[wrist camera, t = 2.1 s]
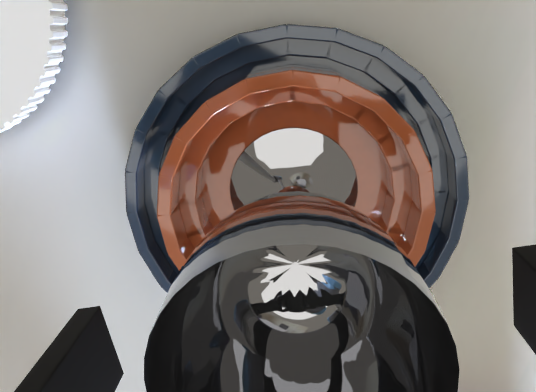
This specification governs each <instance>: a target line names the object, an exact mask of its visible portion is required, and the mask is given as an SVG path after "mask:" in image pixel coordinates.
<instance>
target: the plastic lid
mask: <svg viewBox="0 0 536 392" xmlns="http://www.w3.org/2000/svg"><path fill="white" fill-rule="evenodd" d="M67 10H68V8H67V4H65V3H64V0H0V133H1V132H3V131H5V130H8V129H10V128H12V126H14V125H16V124H19V123H20V122H21V119H24V118H27V117H28V116H29V115H30V114H29V112H32V111H35V110H36V109H37V108H38V107H37V105H36V104H38V103H42V102H43V101H44V97H43V95H45V94H48V93H49V92H50V90H51V89H50V88H49V86H50V84H54V83H55V81H56V79H55V77H54V76H55V74H56V73H59V72H60V69H61V68H60V67H59V66H58V65H59V62H63V59H64V56H63V55H62V50H66V44H65V43H64V38H65V37H67V36H68V31H66V30H65V24H68V18H67V17H65V11H67Z"/></svg>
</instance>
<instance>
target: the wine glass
mask: <svg viewBox="0 0 536 392" xmlns="http://www.w3.org/2000/svg"><path fill="white" fill-rule="evenodd" d="M357 195H358V180H357V175H356V170H355V168H354V165H353V163H352V161H351V159H350V158H349V156H348V154H347V153H346V151H345V150H344V149H343V148H342V147H341V146H340V145H339V144H338V143H337V142H335V141H334V140H333V139H331V138H330V137H329V136H327V135H324V134H322V133H320V132H318V131H315V130H311V129H308V128H300V127H289V128H281V129H277V130H273V131H270V132H268V133H266V134H264V135H261V136H260V137H258V138H257V139H255V140H254V141H252V142H251V143H250V144H249V145H248V146H247V147H246V148H245V149H244V150H243V152H242V153H241V155H240V156H239V157H238V159H237V161H236V163H235V165H234V167H233V170H232V174H231V178H230V197H231V202H232V205H233V209H234V211H233V212H232V213H230V214H229V215H228V216H226V217H225V218H224V219H222V220H221V221H220V222H219V223H218V224H217V225H216V226H215V227H214V228H213V229H211V230H210V231H209V232H208V233H207V234H206V236H205V237H204V238H203V239H202V240H201V241H200V243H199V244H198V245H197V246H196V247H195V249H194V250H193V251H192V253H191V254H190V255H189V257H188V258H187V259H186V261H185V262H184V264H183V265H182V267H181V269H180V271H179V272H178V274H177V276H176V278H175V280H174V281H173V283H172V285H171V287H170V289H169V291H168V293H167V295H166V298H165V300H164V302H163V304H162V306H161V309H160V311H159V313H158V315H157V318H156V320H155V322H154V324H153V327H152V329H151V332H150V335H149V339H148V344H147V348H146V353H145V357H144V381H145V386H146V391H147V392H458V379H459V364H458V358H457V351H456V345H455V343H454V340H453V338H452V335H451V332H450V330H449V327H448V325H447V322H446V320H445V317H444V315H443V313H442V311H441V309H440V307H439V305H438V303H437V302H436V300H435V298H434V296H433V294H432V292H431V291H430V289H429V288H428V286H427V285H426V283H425V281H424V280H423V278H422V277H421V275H420V274H419V272H418V271H417V269H416V268H415V266H414V265H413V263H412V261H411V260H410V258H409V257H408V255H407V254H406V252H405V251H404V250H403V249H402V248H401V247H400V246H399V245H398V244H397V243H396V242H395V241H394V240H393V239H392V238H391V237H390V236H389V235H388V234H387V233H386V232H385V231H384V230H383V229H382V228H381V227H380V225H379V224H378V223H376V222H375V221H373V220H372V219H371V218H369V217H368V216H366V215H365V214H363V213H362V212H361V211H359V210H358V209H356V208H355V204H356V201H357Z"/></svg>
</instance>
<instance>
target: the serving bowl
mask: <svg viewBox="0 0 536 392" xmlns="http://www.w3.org/2000/svg"><path fill="white" fill-rule="evenodd" d="M290 64H291V65H293V64H294V65H302V66H309V67H317V68H324V69H331V70H333V71H337V72H339V73H341V74H343V75H345V76H347V77H349V78H351V79H353V80H355V81H357V82H359V83H361V84H363V85H365V86H367V87H369V88H370V89H372V90H373V91H374V92H376V93H377V94H379V95H380V96H381V97H383V98H384V99H385V100H386V101H387V102H388V103H389V104H390V105H391V106H392V107H393V108H394V109H395V110H396V111H397V112H398V113H399V114H400V115H401V117H402V118H403V119H404V120H405V121H406V122H407V123H408V124H409V125H410V126H411V127H412V128H413V129H414V131H415V132H416V134H417V136H418V138H419V141H420V143H421V145H422V147H423V150H424V152H425V154H426V156H427V158H428V161H429V163H430V165H431V167H432V171H433V181H434V194H435V208H436V211H435V217H434V221H433V224H432V228H431V232H430V235H429V239H428V243H427V246H426V250H425V253H424V254H423V256H422V257H421V259H420V260H419V262H418V263H417V265H416V266H415V268H416V269H417V271H418V272H419V274H420V275H421V277H422V278H423V280H424V281H425V283H426V285H427V286H428V288H430V287H431V286H432V285H433V284H434V283H435V281H436V280H437V279H438V278H439V277H440V275H441V273H442V271H443V270H444V268H445V266H446V264H447V262H448V260H449V259H450V257H451V255H452V253H453V251H454V250H455V248H456V246H457V244H458V242H459V239H460V235H461V231H462V227H463V223H464V218H465V214H466V210H467V206H468V200H469V189H468V168H467V156H466V152H465V150H464V147H463V144H462V141H461V138H460V135H459V133H458V130H457V127H456V124H455V121H454V118H453V116H452V114H451V112H450V110H449V109H448V108H447V106H446V105H445V103H444V102H443V101H442V99H441V98H440V97H439V95H438V94H437V93H436V91H435V90H434V89H433V87H432V86H431V84H430V83H429V82H428V80H427V79H426V78H425V76H423V74H421V73H420V72H419V71H417V70H416V69H415V68H413V67H412V66H411V65H409V64H408V63H407V62H405V61H404V60H403V59H401V58H400V57H399V56H398V55H396V54H395V53H394V52H392V51H391V50H390V49H388V48H387V47H385V46H383V45H381V44H378V43H376V42H373V41H370V40H368V39H365V38H362V37H360V36H357V35H354V34H352V33H349V32H347V31H344V30H341V29H337V28H330V27H317V26H305V25H292V24H287V25H286V24H284V25H279V26H274V27H269V28H265V29H260V30H255V31H250V32H245V33H240V34H237V35H234V36H232V37H230V38H228V39H226V40H224V41H223V42H221V43H219V44H217V45H215V46H213V47H211V48H209V49H207V50H205V51H203V52H201V53H199V54H197V55H196V56H194V57H193V58H191V59H190V60H189V61H188V62H187V63H186V64H185V65H184V66H183V67H182V68H181V69H180V70H179V71H177V72H176V73H175V74H174V75H173V76H172V77H171V78H170V79H169V80H168V81H167V82H166V83H165V84H164V85H163V86H162V87H161V88H160V89H159V90H158V91H157V93H156V95H155V96H154V98H153V100H152V101H151V103H150V105H149V107H148V108H147V110H146V112H145V113H144V115H143V117H142V118H141V120H140V122H139V124H138V125H137V127H136V129H135V132H134V136H133V140H132V144H131V148H130V152H129V156H128V160H127V164H126V168H125V187H126V212H127V216H128V220H129V223H130V226H131V229H132V232H133V236H134V239H135V242H136V245H137V248H138V251H139V253H140V255H141V256H142V258H143V260H144V261H145V263H146V264H147V266H148V268H149V269H150V271H151V272H152V274H153V276H154V277H155V279H156V280H157V282H158V283H159V285H160V286H161V287H162V288H163V289H164V290H165V291H166V292H167V293H168V291H169V289H170V287H171V285H172V283H173V281H174V280H175V278H176V276H177V274H178V272H179V270H178V268H177V267H176V265H175V264H174V262H173V261H172V259H171V258H170V256H169V255H168V253H167V250H166V246H165V243H164V239H163V236H162V232H161V229H160V226H159V222H158V219H157V198H158V177H159V172H160V170H161V168H162V165H163V163H164V160H165V158H166V155H167V153H168V150H169V148H170V145H171V143H172V141H173V138H174V136H175V135H176V133H177V132H178V131H179V130H180V129H181V127H182V126H183V125H184V124H185V123H186V122H187V121H188V120H189V118H190V117H191V116H192V115H193V114H194V113H195V112H196V111H197V109H198V108H199V107H200V106H201V105H202V104H203V103H204V102H205V101H206V100H207V99H208V98H210V97H211V96H212V95H213V94H214V93H215V92H217V91H218V90H220V89H222V88H224V87H225V86H227V85H229V84H231V83H232V82H234V81H236V80H238V79H239V78H241V77H243V76H245V75H247V74H248V73H251V72H254V71H259V70H264V69H269V68H274V67H280V66H285V65H290Z"/></svg>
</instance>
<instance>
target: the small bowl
mask: <svg viewBox="0 0 536 392" xmlns="http://www.w3.org/2000/svg"><path fill="white" fill-rule="evenodd" d="M289 127H300V128H308V129H311V130H315V131H318V132H320V133H322V134H324V135H327V136H329V137H330V138H331V139H333V140H334V141H335V142H337V143H338V144H339V145H340V146H341V147H342V148H343V149H344V150H345V151H346V153H347V154H348V156H349V158H350V159H351V161H352V163H353V165H354V168H355V170H356V175H357V180H358V195H357V201H356V204H355V208H356V209H358V210H359V211H361V212H362V213H363V214H365V215H366V216H368V217H369V218H371V219H372V220H373V221H375V222H376V223H378V224H379V225H380V227H381V228H382V229H383V230H384V231H385V232H386V233H387V234H388V235H389V236H390V237H391V238H392V239H393V240H394V241H395V242H396V243H397V244H398V245H399V246H400V247H401V248H402V249H403V250H404V251H405V252H406V254H407V255H408V257H409V258H410V260H411V261H412V263H413V265H414V266H416V265H417V263H418V262H419V260H420V259H421V257H422V256H423V254H424V253H425V250H426V246H427V243H428V239H429V235H430V232H431V228H432V224H433V221H434V217H435V211H436V208H435V194H434V181H433V171H432V167H431V165H430V163H429V161H428V158H427V156H426V154H425V152H424V150H423V147H422V145H421V143H420V141H419V138H418V136H417V134H416V132H415V131H414V129H413V128H412V127H411V126H410V125H409V124H408V123H407V122H406V121H405V120H404V119H403V118H402V117H401V115H400V114H399V113H398V112H397V111H396V110H395V109H394V108H393V107H392V106H391V105H390V104H389V103H388V102H387V101H386V100H385V99H384V98H383V97H381V96H380V95H379V94H377V93H376V92H374V91H373V90H372V89H370V88H369V87H367V86H365V85H363V84H361V83H359V82H357V81H355V80H353V79H351V78H349V77H347V76H345V75H343V74H341V73H339V72H337V71H333V70H331V69H324V68H317V67H309V66H302V65H294V64H293V65H291V64H290V65H285V66H280V67H274V68H269V69H264V70H259V71H254V72H251V73H248V74H247V75H245V76H243V77H241V78H239V79H238V80H236V81H234V82H232V83H231V84H229V85H227V86H225V87H224V88H222V89H220V90H218V91H217V92H215V93H214V94H213V95H212V96H211V97H210V98H208V99H207V100H206V101H205V102H204V103H203V104H202V105H201V106H200V107H199V108H198V109H197V111H196V112H195V113H194V114H193V115H192V116H191V117H190V118H189V120H188V121H187V122H186V123H185V124H184V125H183V126H182V127H181V129H180V130H179V131H178V132H177V133H176V135H175V136H174V138H173V141H172V143H171V145H170V148H169V150H168V153H167V155H166V158H165V160H164V163H163V165H162V168H161V170H160V172H159V177H158V198H157V219H158V222H159V226H160V229H161V232H162V236H163V239H164V243H165V246H166V250H167V253H168V255H169V256H170V258H171V259H172V261H173V262H174V264H175V265H176V267H177V268H178V270H179V271H180V269H181V267H182V265H183V264H184V262H185V261H186V259H187V258H188V257H189V255H190V254H191V253H192V251H193V250H194V249H195V247H196V246H197V245H198V244H199V243H200V241H201V240H202V239H203V238H204V237H205V236H206V234H207V233H208V232H209V231H210V230H211V229H213V228H214V227H215V226H216V225H217V224H218V223H219V222H220V221H221V220H222V219H224V218H225V217H226V216H228V215H229V214H230V213H232V212H233V211H234V209H233V205H232V202H231V197H230V178H231V174H232V170H233V167H234V165H235V163H236V161H237V159H238V157H239V156H240V155H241V153H242V152H243V150H244V149H245V148H246V147H247V146H248V145H249V144H250V143H251V142H252V141H254V140H255V139H257V138H258V137H260V136H261V135H264V134H266V133H268V132H270V131H273V130H277V129H281V128H289Z"/></svg>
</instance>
